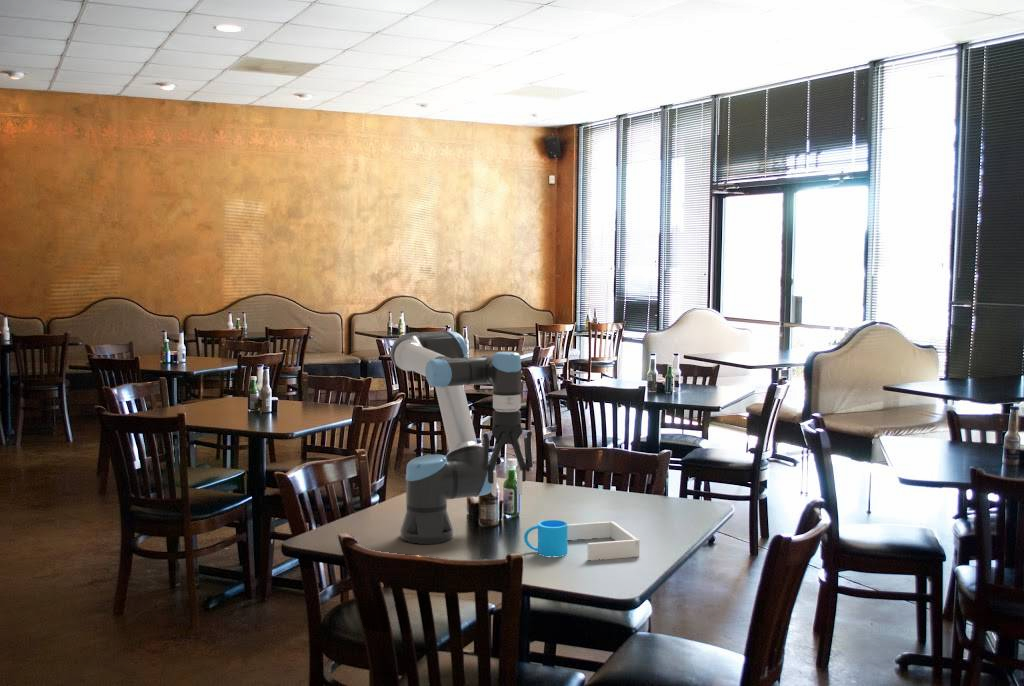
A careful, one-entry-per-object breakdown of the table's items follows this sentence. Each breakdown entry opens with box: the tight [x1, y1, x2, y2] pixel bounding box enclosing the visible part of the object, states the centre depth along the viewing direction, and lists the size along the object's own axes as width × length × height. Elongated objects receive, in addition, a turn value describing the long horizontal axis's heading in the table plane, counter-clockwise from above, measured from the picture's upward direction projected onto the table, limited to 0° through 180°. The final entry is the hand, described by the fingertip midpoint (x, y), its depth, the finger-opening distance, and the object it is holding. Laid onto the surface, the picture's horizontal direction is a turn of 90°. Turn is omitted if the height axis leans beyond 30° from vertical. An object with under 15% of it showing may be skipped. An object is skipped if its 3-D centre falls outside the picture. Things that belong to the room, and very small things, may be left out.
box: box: [567, 520, 641, 561], centre depth 267 cm, size 14×20×4 cm
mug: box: [523, 519, 568, 558], centre depth 263 cm, size 12×8×8 cm
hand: (506, 494), depth 259 cm, fingers open, 6 cm apart
